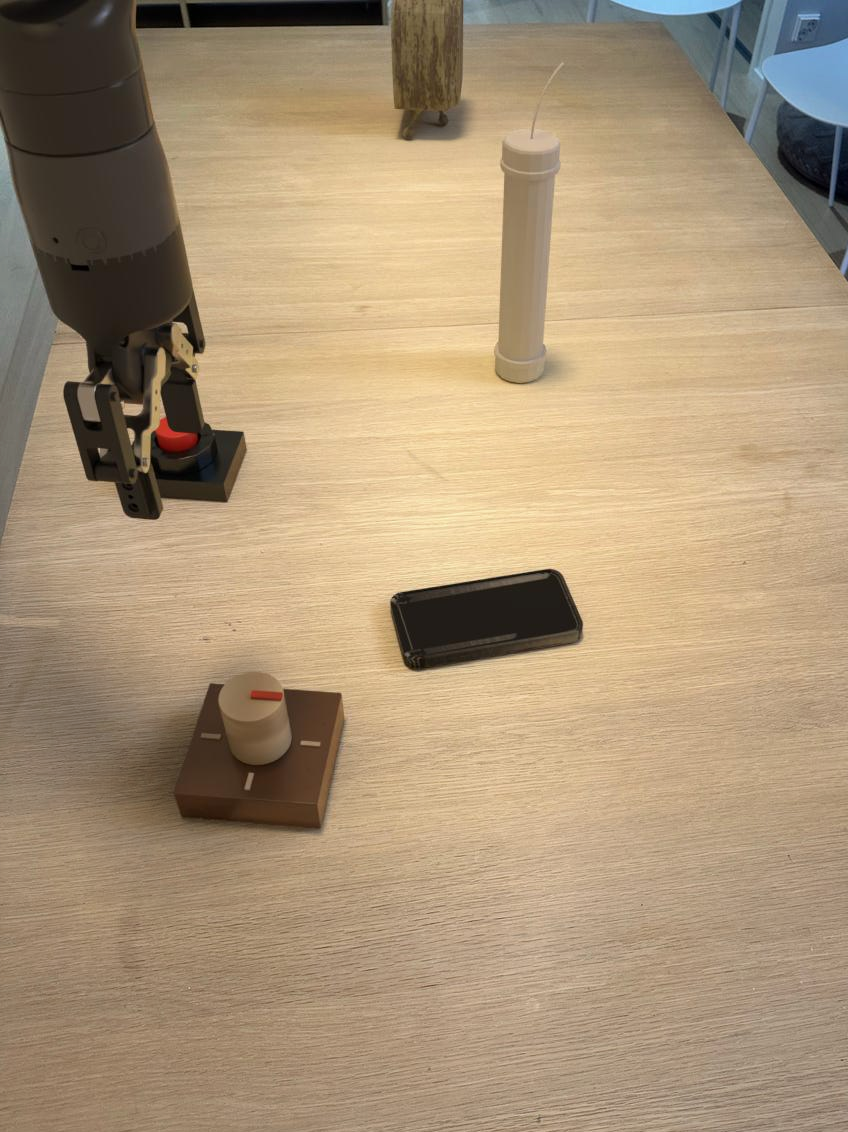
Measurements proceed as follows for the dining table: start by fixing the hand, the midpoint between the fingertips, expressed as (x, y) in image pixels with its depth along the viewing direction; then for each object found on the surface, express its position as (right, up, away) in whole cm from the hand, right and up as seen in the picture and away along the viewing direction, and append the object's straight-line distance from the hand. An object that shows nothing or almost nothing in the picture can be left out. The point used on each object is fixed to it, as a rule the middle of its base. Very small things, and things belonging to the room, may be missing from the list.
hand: (167, 470), depth 66 cm
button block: (-9, +5, +35) cm, 36 cm away
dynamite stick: (+24, +18, +48) cm, 57 cm away
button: (-8, +8, +32) cm, 34 cm away
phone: (+20, -9, +22) cm, 31 cm away
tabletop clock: (+12, +66, +91) cm, 113 cm away
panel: (+4, -20, +12) cm, 23 cm away
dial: (+4, -18, +10) cm, 21 cm away
